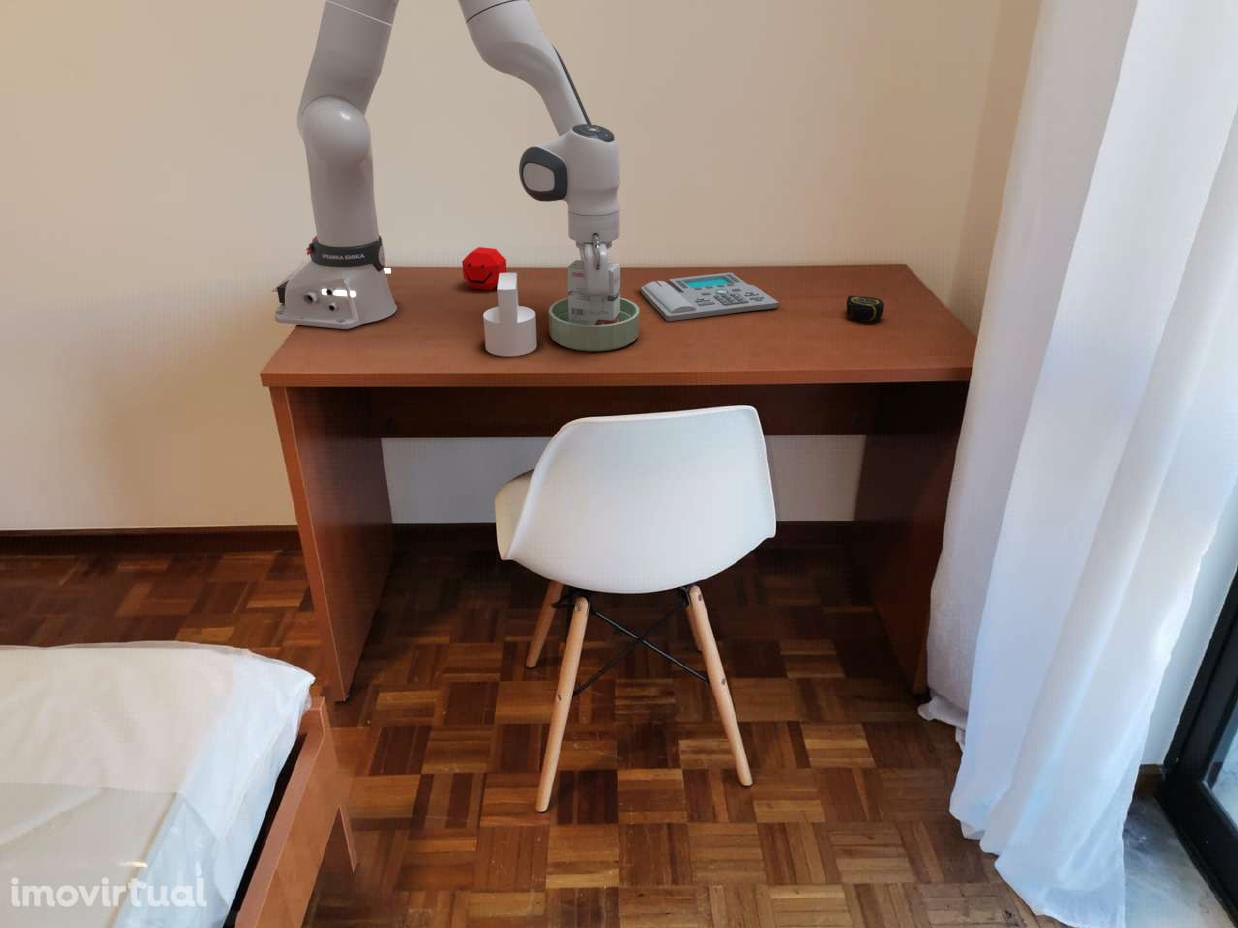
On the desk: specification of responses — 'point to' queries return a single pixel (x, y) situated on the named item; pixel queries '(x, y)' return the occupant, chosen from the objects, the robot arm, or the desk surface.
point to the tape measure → (864, 308)
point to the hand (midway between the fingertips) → (594, 303)
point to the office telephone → (705, 296)
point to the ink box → (581, 300)
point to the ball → (483, 268)
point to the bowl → (594, 329)
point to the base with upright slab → (509, 322)
